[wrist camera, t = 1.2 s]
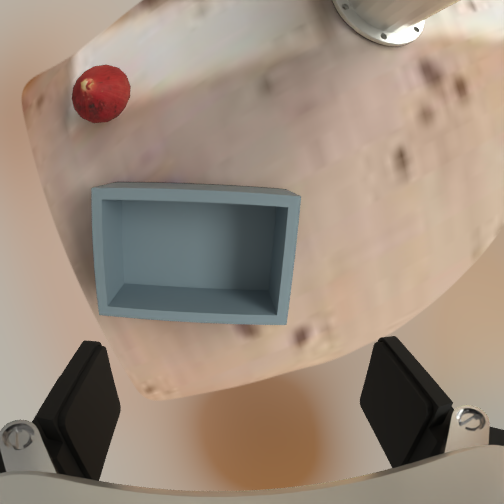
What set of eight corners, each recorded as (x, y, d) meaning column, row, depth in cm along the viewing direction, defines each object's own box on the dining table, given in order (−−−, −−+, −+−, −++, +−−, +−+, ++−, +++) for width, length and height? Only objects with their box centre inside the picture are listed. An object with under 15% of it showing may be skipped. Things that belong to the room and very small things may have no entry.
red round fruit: (136, 124, 30) (112, 114, 23) (87, 128, 30) (53, 121, 22) (140, 72, 29) (118, 49, 21) (91, 78, 28) (59, 60, 20)
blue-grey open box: (116, 181, 32) (91, 188, 25) (285, 189, 34) (301, 196, 27) (119, 287, 35) (99, 314, 28) (275, 295, 37) (286, 324, 30)
